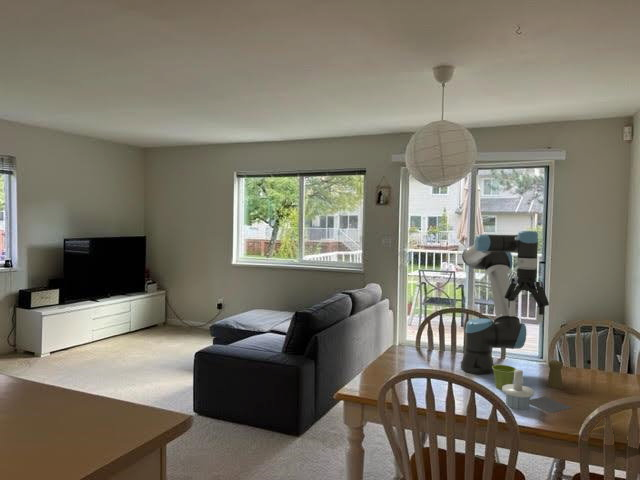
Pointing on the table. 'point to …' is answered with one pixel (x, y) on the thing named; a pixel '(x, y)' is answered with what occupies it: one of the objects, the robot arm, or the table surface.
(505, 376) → the plant pot
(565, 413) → the table surface
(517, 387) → the lid
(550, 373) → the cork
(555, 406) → the mat
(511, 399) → the bowl
